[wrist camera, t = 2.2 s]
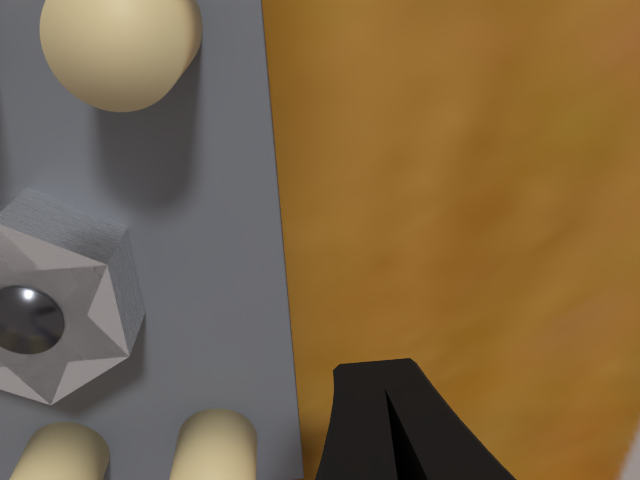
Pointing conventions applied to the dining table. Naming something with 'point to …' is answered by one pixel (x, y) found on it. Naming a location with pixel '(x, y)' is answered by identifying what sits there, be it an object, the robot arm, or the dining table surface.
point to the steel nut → (63, 296)
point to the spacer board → (159, 234)
